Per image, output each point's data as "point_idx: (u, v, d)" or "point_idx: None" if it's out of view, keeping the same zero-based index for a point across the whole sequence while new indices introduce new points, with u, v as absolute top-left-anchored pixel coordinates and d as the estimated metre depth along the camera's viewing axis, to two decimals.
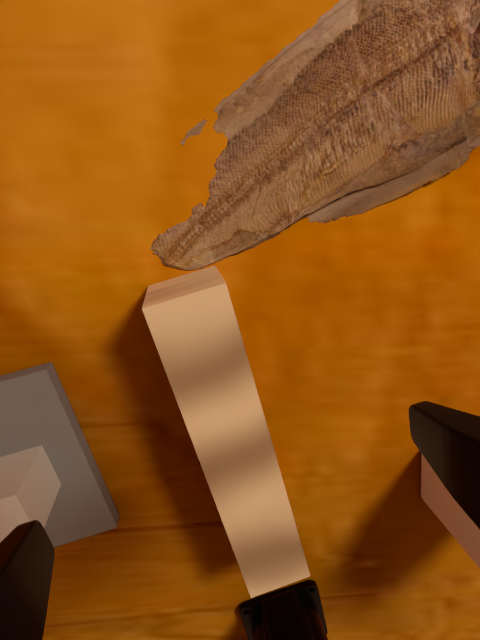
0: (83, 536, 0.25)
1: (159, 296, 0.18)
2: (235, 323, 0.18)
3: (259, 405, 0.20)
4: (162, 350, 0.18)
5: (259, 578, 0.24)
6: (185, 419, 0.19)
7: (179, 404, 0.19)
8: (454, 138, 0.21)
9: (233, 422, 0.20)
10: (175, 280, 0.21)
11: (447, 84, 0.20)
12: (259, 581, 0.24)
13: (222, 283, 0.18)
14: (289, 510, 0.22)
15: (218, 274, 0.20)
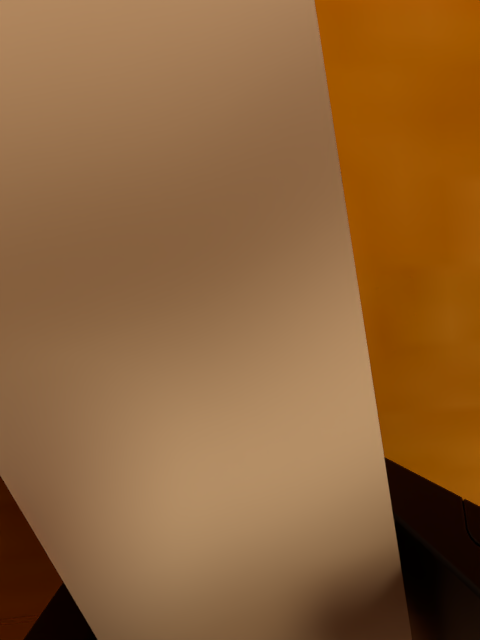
0: None
1: None
2: None
3: (372, 430, 0.04)
4: None
5: None
6: (23, 498, 0.04)
7: None
8: None
9: (254, 504, 0.04)
10: None
11: None
12: None
13: None
14: None
15: None
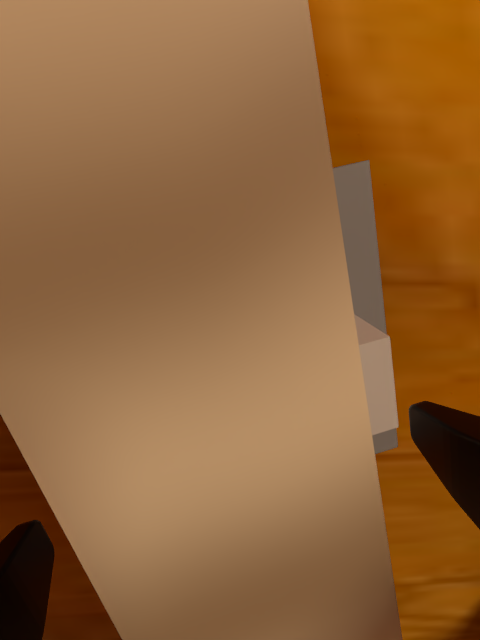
0: None
1: None
2: None
3: (361, 410, 0.05)
4: None
5: None
6: (38, 467, 0.04)
7: None
8: None
9: (251, 478, 0.05)
10: None
11: None
12: None
13: None
14: None
15: None
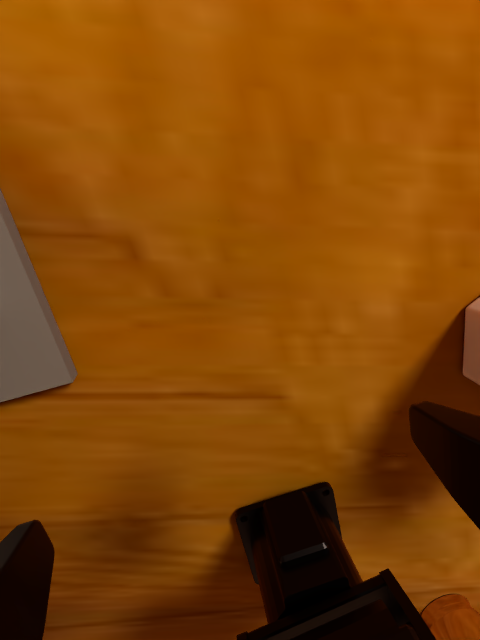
0: (27, 392, 0.19)
1: None
2: None
3: None
4: None
5: None
6: None
7: None
8: None
9: None
10: None
11: None
12: None
13: None
14: None
15: None
